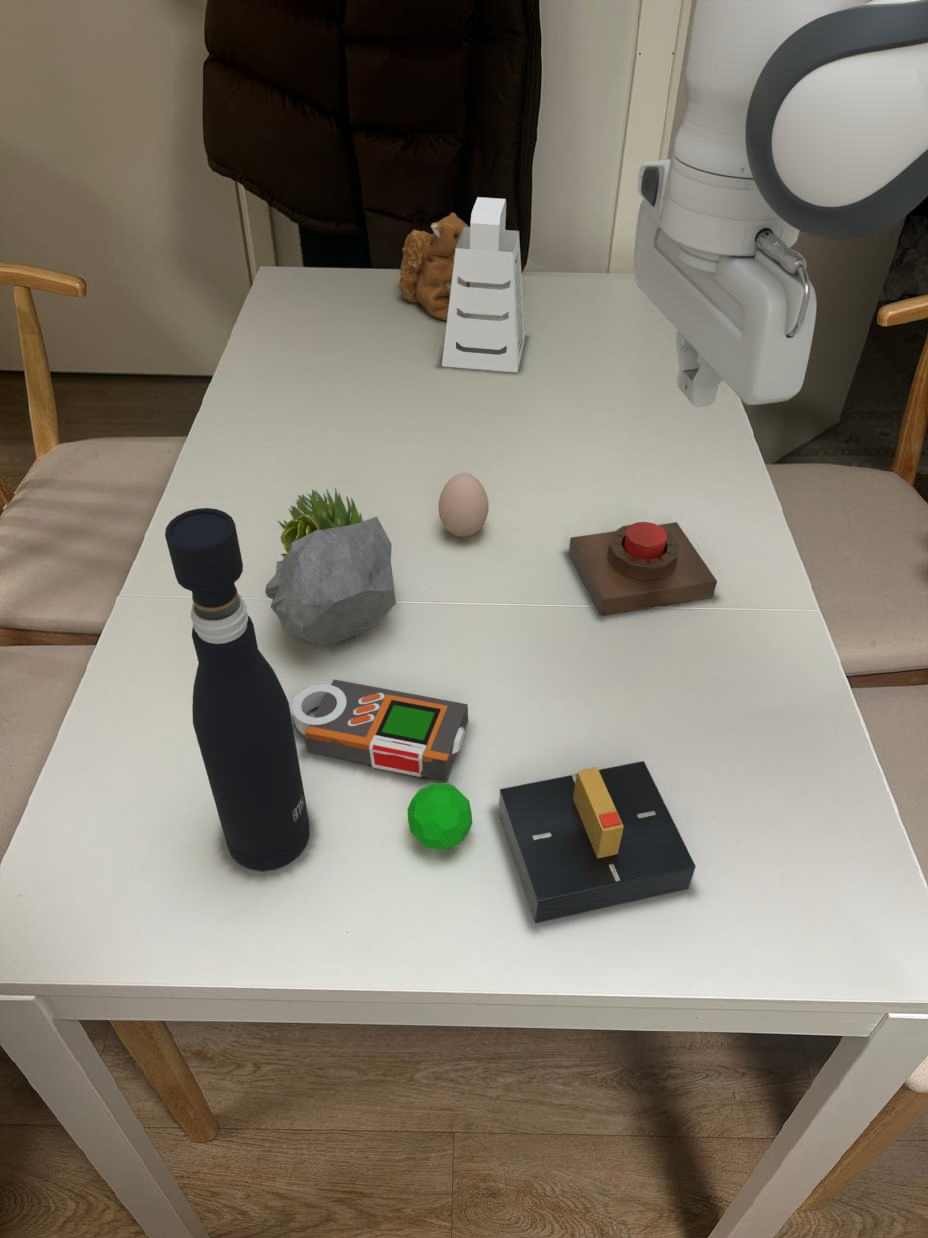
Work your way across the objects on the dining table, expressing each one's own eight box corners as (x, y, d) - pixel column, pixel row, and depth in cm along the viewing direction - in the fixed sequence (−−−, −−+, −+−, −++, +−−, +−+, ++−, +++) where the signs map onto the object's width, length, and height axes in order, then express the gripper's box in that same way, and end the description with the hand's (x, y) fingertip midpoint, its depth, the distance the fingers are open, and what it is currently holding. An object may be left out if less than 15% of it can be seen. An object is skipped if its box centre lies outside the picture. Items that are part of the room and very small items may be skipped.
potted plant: (261, 655, 82) (209, 528, 89) (359, 668, 93) (306, 554, 99) (349, 570, 78) (287, 442, 84) (442, 593, 88) (380, 478, 94)
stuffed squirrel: (459, 326, 138) (460, 235, 129) (380, 303, 143) (376, 215, 134) (493, 302, 144) (496, 214, 135) (416, 281, 149) (415, 195, 140)
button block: (673, 537, 101) (679, 507, 98) (713, 597, 94) (721, 566, 91) (568, 553, 99) (571, 523, 96) (600, 615, 92) (605, 585, 89)
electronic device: (307, 671, 82) (471, 702, 79) (312, 694, 84) (472, 725, 81) (276, 728, 78) (448, 762, 74) (281, 750, 80) (450, 785, 76)
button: (654, 532, 96) (657, 519, 95) (670, 556, 93) (673, 542, 92) (618, 538, 95) (620, 524, 94) (632, 562, 92) (635, 548, 91)
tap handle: (572, 798, 72) (577, 768, 69) (592, 794, 72) (597, 764, 70) (597, 859, 68) (603, 829, 65) (617, 854, 68) (624, 824, 66)
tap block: (638, 783, 77) (644, 759, 75) (688, 889, 70) (696, 865, 68) (498, 811, 75) (499, 787, 72) (535, 923, 68) (538, 900, 65)
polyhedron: (407, 809, 75) (406, 772, 71) (469, 806, 75) (470, 769, 72) (409, 863, 71) (407, 827, 68) (473, 860, 71) (475, 823, 68)
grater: (525, 337, 135) (533, 193, 122) (517, 372, 128) (526, 223, 114) (453, 332, 136) (454, 188, 123) (441, 366, 129) (441, 217, 115)
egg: (443, 550, 99) (443, 493, 94) (434, 520, 103) (434, 464, 98) (492, 545, 100) (494, 487, 95) (481, 515, 104) (483, 459, 99)
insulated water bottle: (222, 812, 74) (137, 504, 54) (302, 793, 76) (249, 486, 55) (232, 881, 70) (144, 572, 49) (317, 859, 71) (265, 551, 51)
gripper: (865, 263, 53) (802, 467, 63) (711, 152, 68) (679, 332, 77) (765, 273, 52) (716, 479, 62) (630, 158, 67) (607, 339, 76)
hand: (694, 396), depth 70 cm, fingers closed
